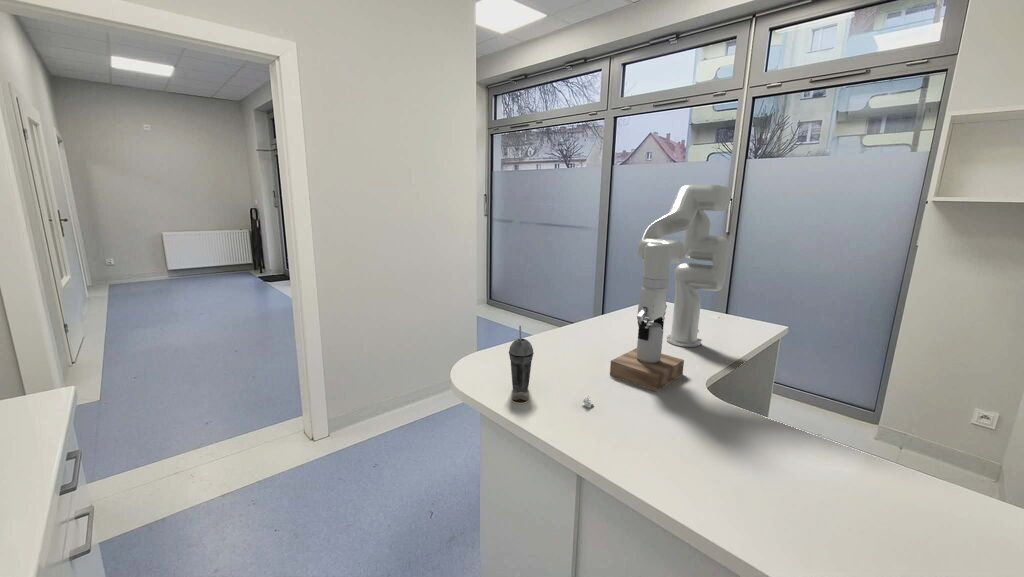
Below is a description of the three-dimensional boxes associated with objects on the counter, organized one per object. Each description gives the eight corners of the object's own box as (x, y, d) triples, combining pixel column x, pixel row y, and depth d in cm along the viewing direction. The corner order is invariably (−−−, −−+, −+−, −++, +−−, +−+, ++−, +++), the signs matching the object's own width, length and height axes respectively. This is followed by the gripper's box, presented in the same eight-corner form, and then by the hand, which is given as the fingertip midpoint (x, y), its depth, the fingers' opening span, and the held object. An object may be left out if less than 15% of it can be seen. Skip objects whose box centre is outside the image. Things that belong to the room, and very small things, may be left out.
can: (632, 355, 139) (635, 320, 136) (654, 355, 139) (658, 320, 137) (641, 364, 132) (644, 328, 129) (664, 364, 132) (668, 327, 130)
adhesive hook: (586, 404, 118) (587, 393, 117) (594, 407, 116) (595, 396, 115) (580, 408, 116) (581, 397, 115) (588, 411, 114) (589, 400, 113)
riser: (637, 360, 148) (638, 347, 147) (682, 374, 137) (684, 359, 136) (609, 375, 136) (610, 360, 134) (656, 391, 125) (658, 376, 124)
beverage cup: (536, 386, 127) (538, 322, 122) (526, 396, 120) (528, 330, 116) (514, 381, 130) (515, 319, 125) (503, 391, 123) (504, 326, 119)
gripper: (656, 276, 138) (652, 326, 143) (629, 285, 126) (625, 339, 131) (679, 280, 133) (674, 331, 137) (653, 290, 121) (648, 345, 125)
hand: (650, 335), depth 134 cm, fingers open, 9 cm apart
